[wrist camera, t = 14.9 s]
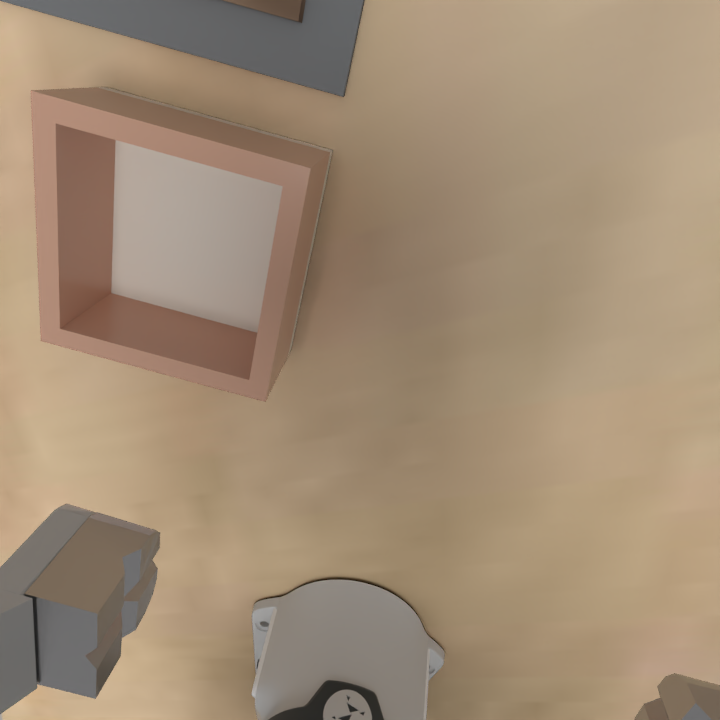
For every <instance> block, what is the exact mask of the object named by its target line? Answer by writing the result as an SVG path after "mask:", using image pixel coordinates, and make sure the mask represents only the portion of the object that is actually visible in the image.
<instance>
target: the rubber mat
mask: <svg viewBox="0 0 720 720" xmlns="http://www.w3.org/2000/svg"><path fill="white" fill-rule="evenodd" d="M0 1H3V2H7V3H10V4H14V5H18V6H21V7H25V8H28V9H32V10H35V11H39V12H42V13H46V14H50V15H53V16H57V17H60V18H64V19H67V20H71V21H75V22H78V23H82V24H85V25H89V26H92V27H96V28H100V29H103V30H107V31H110V32H114V33H117V34H121V35H125V36H128V37H132V38H135V39H139V40H142V41H146V42H150V43H153V44H157V45H160V46H164V47H167V48H171V49H175V50H178V51H182V52H185V53H189V54H192V55H196V56H200V57H203V58H207V59H210V60H214V61H217V62H221V63H225V64H228V65H232V66H235V67H239V68H242V69H246V70H250V71H253V72H257V73H260V74H264V75H267V76H271V77H275V78H278V79H282V80H285V81H289V82H292V83H296V84H300V85H303V86H307V87H310V88H314V89H317V90H321V91H325V92H328V93H332V94H335V95H339V96H342V97H344V95H345V90H346V86H347V81H348V76H349V71H350V67H351V62H352V57H353V52H354V48H355V43H356V38H357V33H358V28H359V24H360V19H361V14H362V9H363V5H364V0H306V2H305V8H304V14H303V20H302V23H300V22H297V21H293V20H290V19H286V18H283V17H279V16H275V15H272V14H268V13H265V12H261V11H258V10H254V9H251V8H247V7H244V6H240V5H236V4H233V3H229V2H226V1H222V0H0Z"/></svg>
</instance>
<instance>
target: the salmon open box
mask: <svg viewBox="0 0 720 720" xmlns="http://www.w3.org/2000/svg"><path fill="white" fill-rule="evenodd" d="M31 109H32V134H33V158H34V183H35V208H36V232H37V257H38V282H39V306H40V331H41V341H43V342H47V343H50V344H54V345H58V346H61V347H65V348H69V349H72V350H76V351H80V352H84V353H87V354H91V355H95V356H98V357H102V358H106V359H109V360H113V361H117V362H120V363H124V364H128V365H132V366H135V367H139V368H143V369H146V370H150V371H154V372H157V373H161V374H165V375H169V376H172V377H176V378H180V379H183V380H187V381H191V382H194V383H198V384H202V385H205V386H209V387H213V388H217V389H220V390H224V391H228V392H231V393H235V394H239V395H242V396H246V397H250V398H254V399H257V400H261V401H265V402H266V400H267V398H268V396H269V394H270V392H271V390H272V388H273V386H274V384H275V382H276V380H277V378H278V376H279V374H280V372H281V369H282V367H283V365H284V363H285V361H286V359H287V357H288V355H289V353H290V351H291V348H292V343H293V338H294V334H295V329H296V324H297V319H298V315H299V310H300V305H301V300H302V296H303V291H304V286H305V281H306V276H307V272H308V267H309V262H310V257H311V253H312V248H313V243H314V238H315V234H316V229H317V224H318V219H319V214H320V210H321V205H322V200H323V195H324V191H325V186H326V181H327V176H328V172H329V167H330V162H331V157H332V152H333V150H331V149H327V148H323V147H320V146H316V145H313V144H309V143H305V142H302V141H298V140H295V139H291V138H288V137H284V136H280V135H277V134H273V133H270V132H266V131H262V130H259V129H255V128H252V127H248V126H244V125H241V124H237V123H234V122H230V121H226V120H223V119H219V118H216V117H212V116H209V115H205V114H201V113H198V112H194V111H191V110H187V109H183V108H180V107H176V106H173V105H169V104H165V103H162V102H158V101H155V100H151V99H147V98H144V97H140V96H137V95H133V94H130V93H126V92H122V91H119V90H115V89H112V88H108V87H92V88H72V89H52V90H31Z"/></svg>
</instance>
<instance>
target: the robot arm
mask: <svg viewBox="0 0 720 720" xmlns="http://www.w3.org/2000/svg"><path fill="white" fill-rule="evenodd" d="M159 548H160V532H158V531H156V530H153V529H150V528H147V527H143V526H140V525H137V524H134V523H130V522H127V521H124V520H121V519H117V518H114V517H111V516H108V515H104V514H101V513H98V512H93V511H90V510H87V509H83V508H80V507H76V506H73V505H70V504H65V505H63V506H61V507H59V508H57V509H56V510H54V511H53V512H52V513H51V515H50V516H49V517H48V518H47V519H46V520H45V521H44V522H43V523H42V524H41V525H40V526H39V527H38V528H37V529H36V530H35V531H34V532H33V534H32V535H31V536H30V537H29V538H28V539H27V540H26V541H25V542H24V543H23V544H22V545H21V546H20V547H19V548H18V549H17V550H16V551H15V553H14V554H13V555H12V556H11V557H10V558H9V559H8V560H7V561H6V562H5V563H4V564H3V565H2V566H1V567H0V714H1V713H3V712H4V711H5V710H7V709H8V708H10V707H11V706H13V705H14V704H15V703H17V702H18V701H20V700H21V699H22V698H24V697H25V696H27V695H28V694H30V693H31V692H32V691H34V690H35V689H37V684H39V685H43V686H47V687H51V688H55V689H59V690H63V691H67V692H71V693H75V694H79V695H83V696H87V697H91V698H95V699H96V697H97V696H98V694H99V692H100V690H101V689H102V687H103V685H104V684H105V682H106V680H107V678H108V677H109V675H110V673H111V672H112V670H113V668H114V666H115V665H116V663H117V661H118V660H119V658H120V656H121V641H122V637H124V636H126V635H127V634H129V633H131V632H133V631H134V630H136V628H137V626H138V625H139V623H140V621H141V619H142V618H143V616H144V614H145V612H146V609H147V607H148V605H149V602H150V600H151V597H152V595H153V591H154V587H155V584H156V579H157V570H158V568H157V567H156V565H155V564H154V562H153V561H152V560H153V558H154V556H155V555H156V553H157V551H158V550H159ZM252 627H253V642H254V656H255V671H256V677H255V680H254V684H253V689H252V696H253V697H254V698H255V710H256V715H257V719H258V720H426V714H427V698H428V681H429V680H430V679H431V678H432V677H433V676H434V675H435V674H436V672H437V671H438V670H439V669H440V668H441V667H442V666H443V664H444V656H445V653H444V650H443V649H442V648H441V647H440V646H439V645H438V644H437V643H436V642H435V641H434V640H432V639H431V638H430V637H429V636H428V635H427V633H426V632H425V630H424V628H423V625H422V623H421V621H420V619H419V617H418V616H417V614H416V613H415V612H414V611H413V609H412V608H411V607H410V606H409V605H408V604H406V603H405V602H404V601H403V600H401V599H400V598H399V597H397V596H395V595H394V594H392V593H390V592H388V591H386V590H384V589H382V588H379V587H376V586H374V585H370V584H367V583H363V582H358V581H351V580H324V581H318V582H313V583H310V584H307V585H304V586H301V587H299V588H297V589H295V590H294V591H292V592H290V593H289V594H287V595H285V596H282V597H277V598H270V599H264V600H260V601H258V602H256V603H255V604H254V607H253V612H252ZM657 687H658V691H659V695H660V698H659V699H656V700H654V701H651V702H648V703H646V704H644V705H643V706H642V708H641V709H640V711H639V712H638V714H637V715H636V717H635V720H720V685H717V684H713V683H709V682H706V681H702V680H698V679H694V678H690V677H687V676H683V675H679V674H675V673H674V674H671V675H669V676H666V677H665V678H664V679H663V680H662V681H661V683H660V684H659V685H658V686H657Z"/></svg>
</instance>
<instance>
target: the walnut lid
mask: <svg viewBox="0 0 720 720" xmlns="http://www.w3.org/2000/svg"><path fill="white" fill-rule="evenodd" d="M222 1H226V2H229V3H233V4H236V5H240V6H244V7H247V8H251V9H254V10H258V11H261V12H265V13H268V14H272V15H275V16H279V17H283V18H286V19H290V20H293V21H297V22H300V23H302V20H303V14H304V8H305V2H306V0H222Z"/></svg>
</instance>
